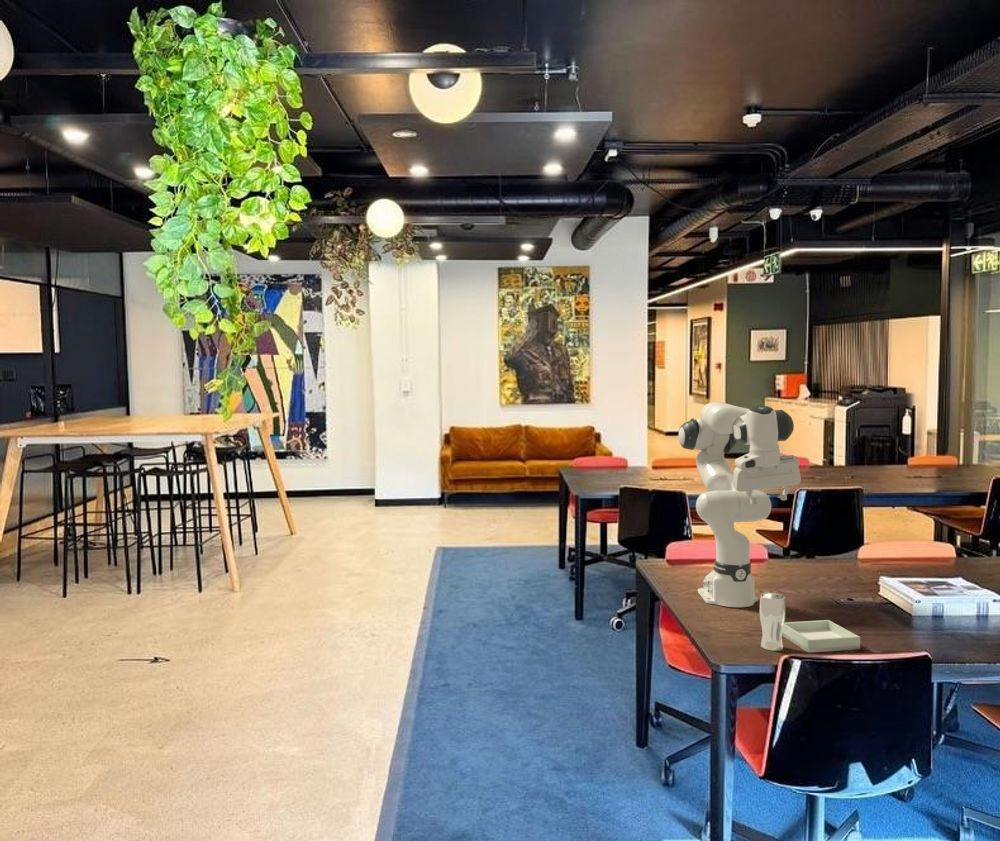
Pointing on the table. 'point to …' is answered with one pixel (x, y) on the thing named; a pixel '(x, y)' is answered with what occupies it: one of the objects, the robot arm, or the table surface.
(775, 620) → the beer glass
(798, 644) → the light gray opaque tray
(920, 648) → the table surface
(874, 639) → the table surface
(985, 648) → the table surface
